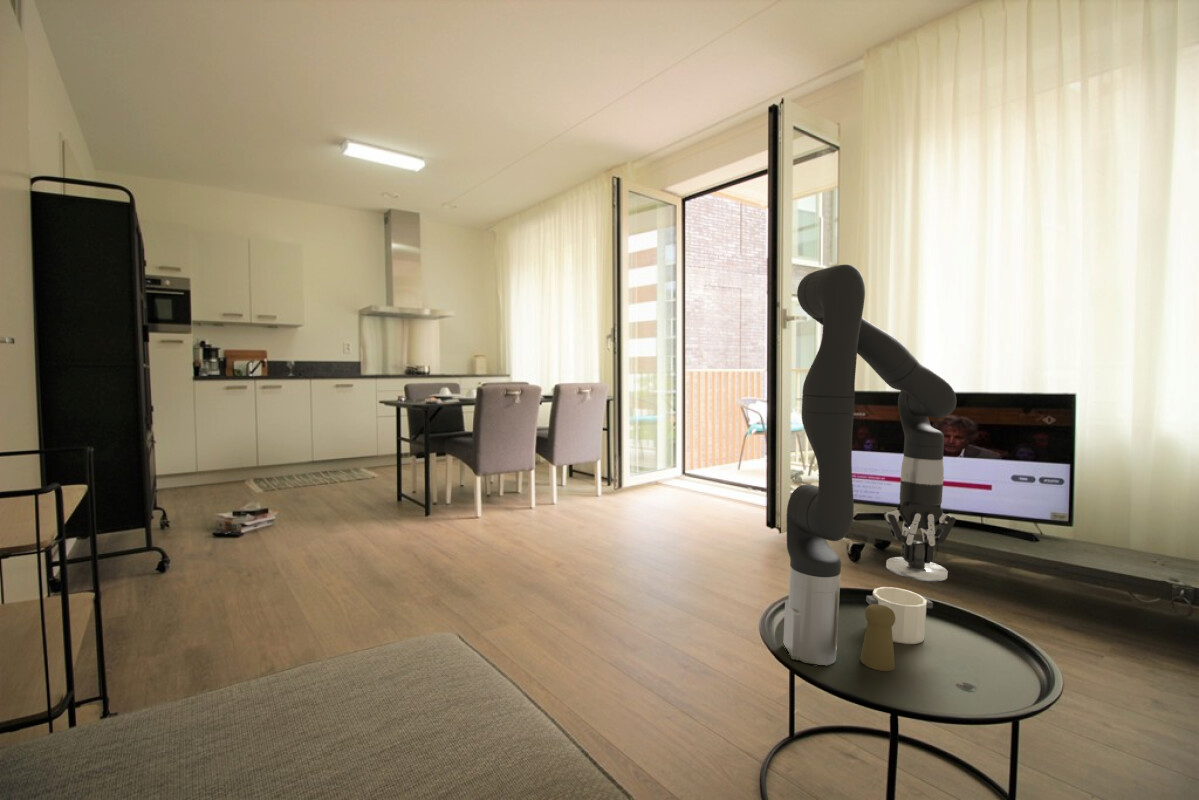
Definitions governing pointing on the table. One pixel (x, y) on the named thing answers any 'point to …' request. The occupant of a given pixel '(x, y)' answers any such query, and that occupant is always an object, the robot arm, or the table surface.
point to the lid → (917, 565)
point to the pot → (903, 612)
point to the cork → (878, 638)
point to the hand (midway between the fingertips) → (916, 561)
